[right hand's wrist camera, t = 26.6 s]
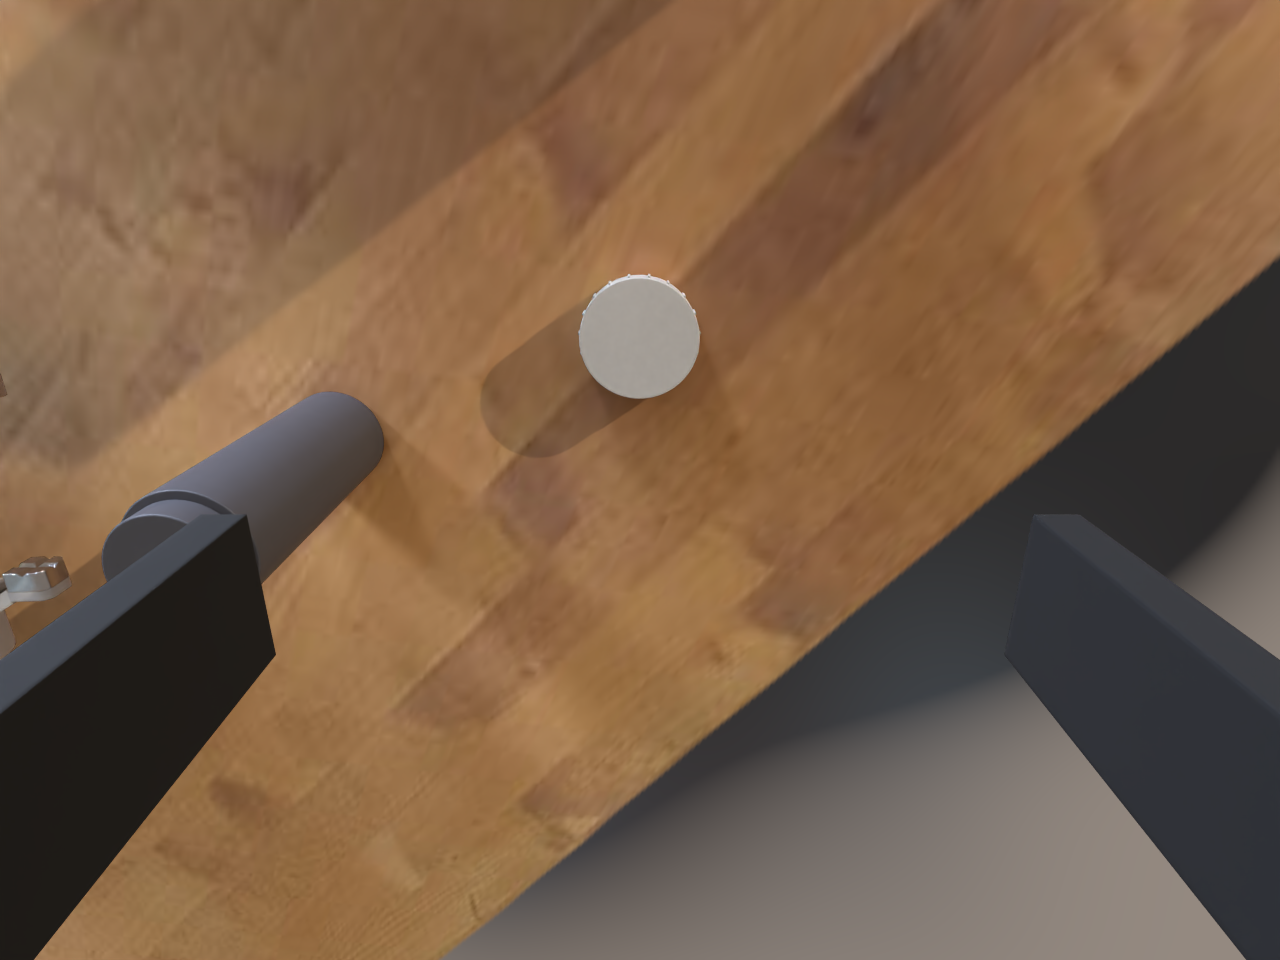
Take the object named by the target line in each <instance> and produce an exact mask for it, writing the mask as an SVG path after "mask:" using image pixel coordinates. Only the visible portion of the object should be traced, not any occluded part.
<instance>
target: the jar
mask: <svg viewBox="0 0 1280 960" xmlns="http://www.w3.org/2000/svg"><path fill="white" fill-rule="evenodd" d="M383 447H384V439H383V433H382V430H381V427H380V424H379V422H378V420H377V419H376V417H375V415H374V414H373V413H372V412H371V410H370V409H369V408H368V407H367V406H365V405H364V404H363V403H362V402H360V401H359V400H357V399H355V398H353V397H351V396H349V395H346V394H343V393H338V392H321V393H317V394H314V395H311V396H309V397H307V398H306V399H304V400H302V401H301V402H299V403H297V404H296V405H294V406H292V407H291V408H289V409H287V410H286V411H284V412H282V413H281V414H279V415H278V416H276V417H274V418H273V419H271V420H269V421H268V422H266V423H264V424H263V425H261V426H259V427H258V428H256V429H254V430H253V431H251V432H249V433H248V434H246V435H245V436H243V437H241V438H240V439H238V440H236V441H235V442H233V443H231V444H230V445H228V446H226V447H225V448H223V449H221V450H220V451H218V452H216V453H215V454H213V455H211V456H210V457H208V458H207V459H205V460H203V461H202V462H200V463H198V464H197V465H195V466H193V467H192V468H190V469H188V470H187V471H185V472H183V473H182V474H180V475H178V476H177V477H175V478H174V479H172V480H170V481H169V482H167V483H165V484H164V485H162V486H160V487H159V488H157V489H155V490H154V491H152V492H150V493H149V494H147V495H145V496H144V497H142V498H141V499H139V500H138V501H136V502H135V503H134V504H133V505H132V506H131V507H130V508H129V509H128V511H127V512H126V514H125V515H124V517H123V519H122V522H121V523H119V524H118V525H117V526H116V527H115V528H114V529H113V530H112V531H111V532H110V534H109V535H108V537H107V539H106V541H105V543H104V546H103V550H102V567H103V572H104V575H105V578H106V580H107V582H108V581H110V580H111V579H113V578H114V577H115V576H117V575H118V574H119V573H121V572H122V571H124V570H125V569H126V568H128V567H129V566H130V565H132V564H133V563H135V562H136V561H137V560H139V559H140V558H142V557H143V556H144V555H146V554H147V553H148V552H150V551H151V550H153V549H154V548H155V547H157V546H158V545H159V544H161V543H162V542H164V541H165V540H166V539H168V538H169V537H170V536H172V535H173V534H175V533H176V532H177V531H179V530H180V529H182V528H183V527H184V526H186V525H187V524H188V523H190V522H191V521H193V520H194V519H195V518H197V517H198V516H199V515H201V514H247V518H248V523H249V527H250V532H251V537H252V542H253V547H254V552H255V556H256V561H257V566H258V571H259V576H260V581H261V584H262V583H263V582H264V581H265V580H266V579H267V578H268V577H269V576H270V575H271V574H272V573H273V572H274V571H275V570H276V569H277V568H278V567H279V566H280V565H281V564H282V562H283V561H284V560H285V559H286V558H287V557H288V556H289V555H290V554H291V553H292V552H293V551H294V550H295V549H296V548H297V547H298V546H299V545H300V544H301V543H302V542H303V541H304V540H305V539H306V538H307V537H308V536H309V535H310V534H311V533H312V532H313V531H314V530H315V529H316V528H317V527H318V526H319V525H320V524H321V522H322V521H323V520H324V519H325V518H326V517H327V516H328V515H329V514H330V513H331V512H332V511H333V510H334V509H335V508H336V507H337V506H338V505H339V504H340V503H341V502H342V501H343V500H344V499H345V498H346V497H347V496H348V495H349V494H350V493H351V492H352V491H353V490H354V489H355V488H356V487H357V486H358V485H359V484H360V483H361V481H362V480H363V479H364V478H365V477H366V476H367V475H368V474H369V473H370V472H371V471H372V470H373V469H374V468H375V467H376V466H377V464H378V462H379V461H380V458H381V456H382V453H383Z"/></svg>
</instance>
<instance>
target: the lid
mask: <svg viewBox="0 0 1280 960" xmlns="http://www.w3.org/2000/svg"><path fill="white" fill-rule="evenodd" d="M685 297H686V296H685V294H684V293H681V292H680V291H679V290H678V289H677V288H675V287H674V286H673V285H672V284H670V282H669V281H668V280H667V281H665V280H662V279H660V278H657V277H653V276H650V274H648V275H631V276H630V274H628V276H625V277H622V278H619V279H617V280H614V281H609V283H608V284H607V285H606V286H605V287H603V288H602V289H601V290H600V291H599V292H598V293H597V294H596V293H595V294H594V295H593V299H592V300H591V302H590V303H589V305H588V307H587V309H586V310H584V312H583V314H582V315H583V319H582V321H581V326H580V330H579V332H578V335H579V346H580V351H581V352H580V354H581V355H582V358H583V361H584V363H585V365H586V367H587V369H588V371H589V373H590V374H591V375H592V376H593V377H594V379H595V380H596V381H597V382H598V383H599V384H601V385H602V386H603V387H605V388H606V389H607V390H609V391H611V392H613V393H615V394H617V395H620V396H623V397H628V398H635V399H645V398H652V397H655V396H659V395H661V394H664V393H666V392H668V391H670V390H671V389H673V388H674V387H676V386H677V385H678V384H679V383H680V382H681V381H682V380H683V379H684V378H685V377H686V376H687V375H688V373H689V372H690V371H691V369H692V367H693V365H694V363H695V360H696V358H697V354H698V353H699V352H698V350H699V343H700V334H701V332H700V330H699V326H698V323H697V319H696V316H695V315H696V312H695V310H694V309H692V307H691V306H690V304H689V302H688V300H687V299H686V298H685Z"/></svg>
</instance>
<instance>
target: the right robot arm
mask: <svg viewBox="0 0 1280 960" xmlns="http://www.w3.org/2000/svg"><path fill="white" fill-rule="evenodd" d="M275 655H276V653H275V648H274V643H273V639H272V634H271V629H270V624H269V619H268V614H267V610H266V605H265V600H264V595H263V590H262V585H261V581H260V576H259V571H258V566H257V561H256V556H255V552H254V547H253V542H252V537H251V532H250V527H249V523H248V518H247V514H201V515H199V516H198V517H197V518H195V519H194V520H193V521H191V522H190V523H188V524H187V525H186V526H184V527H183V528H182V529H180V530H179V531H177V532H176V533H175V534H173V535H172V536H170V537H169V538H168V539H166V540H165V541H164V542H162V543H161V544H159V545H158V546H157V547H155V548H154V549H153V550H151V551H150V552H148V553H147V554H146V555H144V556H143V557H142V558H140V559H139V560H137V561H136V562H135V563H133V564H132V565H130V566H129V567H128V568H126V569H125V570H124V571H122V572H121V573H119V574H118V575H117V576H115V577H114V578H113V579H111V580H110V581H108V582H107V583H106V584H104V585H103V586H102V587H100V588H99V589H97V590H96V591H95V592H93V593H92V594H90V595H89V596H88V597H86V598H85V599H84V600H82V601H81V602H79V603H78V604H77V605H75V606H74V607H73V608H71V609H70V610H68V611H67V612H66V613H64V614H63V615H62V616H60V617H59V618H57V619H56V620H55V621H53V622H52V623H51V624H49V625H48V626H46V627H45V628H44V629H42V630H41V631H39V632H38V633H37V634H35V635H34V636H33V637H31V638H30V639H28V640H27V641H26V642H24V643H23V644H22V645H20V646H19V647H17V648H16V649H15V650H13V651H12V652H11V653H9V654H8V655H6V656H5V657H4V658H2V659H1V660H0V960H34V959H35V958H36V956H37V955H38V954H39V952H40V951H41V950H42V949H43V947H44V946H45V945H46V944H47V942H48V941H49V940H50V939H51V937H52V936H53V935H54V934H55V932H56V931H57V930H58V929H59V927H60V926H61V925H62V924H63V922H64V921H65V920H66V918H67V917H68V916H69V915H70V913H71V912H72V911H73V910H74V908H75V907H76V906H77V905H78V903H79V902H80V901H81V900H82V898H83V897H84V896H85V895H86V893H87V892H88V891H89V890H90V888H91V887H92V886H93V884H94V883H95V882H96V881H97V879H98V878H99V877H100V876H101V874H102V873H103V872H104V871H105V869H106V868H107V867H108V866H109V864H110V863H111V862H112V861H113V859H114V858H115V857H116V855H117V854H118V853H119V852H120V850H121V849H122V848H123V847H124V845H125V844H126V843H127V842H128V840H129V839H130V838H131V837H132V835H133V834H134V833H135V832H136V830H137V829H138V828H139V827H140V825H141V824H142V823H143V821H144V820H145V819H146V818H147V816H148V815H149V814H150V813H151V811H152V810H153V809H154V808H155V806H156V805H157V804H158V803H159V801H160V800H161V799H162V798H163V796H164V795H165V794H166V792H167V791H168V790H169V789H170V787H171V786H172V785H173V784H174V782H175V781H176V780H177V779H178V777H179V776H180V775H181V774H182V772H183V771H184V770H185V769H186V767H187V766H188V765H189V764H190V762H191V761H192V760H193V758H194V757H195V756H196V755H197V753H198V752H199V751H200V750H201V748H202V747H203V746H204V745H205V743H206V742H207V741H208V740H209V738H210V737H211V736H212V735H213V733H214V732H215V731H216V730H217V728H218V727H219V726H220V724H221V723H222V722H223V721H224V719H225V718H226V717H227V716H228V714H229V713H230V712H231V711H232V709H233V708H234V707H235V706H236V704H237V703H238V702H239V701H240V699H241V698H242V697H243V695H244V694H245V693H246V692H247V690H248V689H249V688H250V687H251V685H252V684H253V683H254V682H255V680H256V679H257V678H258V677H259V675H260V674H261V673H262V672H263V670H264V669H265V668H266V667H267V665H268V664H269V663H270V661H271V660H272V659H273V658H274V656H275ZM1004 655H1005V656H1006V658H1007V659H1008V660H1009V661H1010V663H1011V664H1012V665H1013V667H1014V668H1015V669H1016V670H1017V672H1018V673H1019V674H1020V675H1021V677H1022V678H1023V679H1024V680H1025V682H1026V683H1027V684H1028V685H1029V687H1030V688H1031V689H1032V690H1033V692H1034V693H1035V694H1036V695H1037V697H1038V698H1039V699H1040V701H1041V702H1042V703H1043V704H1044V706H1045V707H1046V708H1047V709H1048V711H1049V712H1050V713H1051V714H1052V716H1053V717H1054V718H1055V719H1056V721H1057V722H1058V723H1059V724H1060V726H1061V727H1062V728H1063V729H1064V731H1065V732H1066V733H1067V735H1068V736H1069V737H1070V738H1071V740H1072V741H1073V742H1074V743H1075V745H1076V746H1077V747H1078V748H1079V750H1080V751H1081V752H1082V753H1083V755H1084V756H1085V757H1086V758H1087V760H1088V761H1089V762H1090V763H1091V765H1092V766H1093V767H1094V769H1095V770H1096V771H1097V772H1098V774H1099V775H1100V776H1101V777H1102V779H1103V780H1104V781H1105V782H1106V784H1107V785H1108V786H1109V787H1110V789H1111V790H1112V791H1113V792H1114V794H1115V795H1116V796H1117V798H1118V799H1119V800H1120V801H1121V803H1122V804H1123V805H1124V806H1125V808H1126V809H1127V810H1128V811H1129V813H1130V814H1131V815H1132V816H1133V818H1134V819H1135V820H1136V821H1137V823H1138V824H1139V825H1140V826H1141V828H1142V829H1143V830H1144V832H1145V833H1146V834H1147V835H1148V837H1149V838H1150V839H1151V840H1152V842H1153V843H1154V844H1155V845H1156V847H1157V848H1158V849H1159V850H1160V852H1161V853H1162V854H1163V855H1164V857H1165V858H1166V859H1167V861H1168V862H1169V863H1170V864H1171V866H1172V867H1173V868H1174V869H1175V871H1176V872H1177V873H1178V874H1179V876H1180V877H1181V878H1182V879H1183V881H1184V882H1185V883H1186V884H1187V886H1188V887H1189V888H1190V889H1191V891H1192V892H1193V893H1194V895H1195V896H1196V897H1197V898H1198V900H1199V901H1200V902H1201V903H1202V905H1203V906H1204V907H1205V908H1206V910H1207V911H1208V912H1209V913H1210V915H1211V916H1212V917H1213V918H1214V920H1215V921H1216V922H1217V924H1218V925H1219V926H1220V927H1221V929H1222V930H1223V931H1224V932H1225V934H1226V935H1227V936H1228V937H1229V939H1230V940H1231V941H1232V942H1233V944H1234V945H1235V946H1236V947H1237V949H1238V950H1239V951H1240V952H1241V954H1242V955H1243V956H1244V958H1245V959H1246V960H1280V660H1279V659H1278V658H1276V657H1275V656H1274V655H1272V654H1271V653H1269V652H1268V651H1267V650H1265V649H1264V648H1263V647H1261V646H1260V645H1258V644H1257V643H1256V642H1254V641H1253V640H1252V639H1250V638H1249V637H1247V636H1246V635H1245V634H1243V633H1242V632H1240V631H1239V630H1238V629H1236V628H1235V627H1234V626H1232V625H1231V624H1229V623H1228V622H1227V621H1225V620H1224V619H1223V618H1221V617H1220V616H1218V615H1217V614H1216V613H1214V612H1213V611H1212V610H1210V609H1209V608H1207V607H1206V606H1205V605H1203V604H1202V603H1201V602H1199V601H1198V600H1196V599H1195V598H1194V597H1192V596H1191V595H1189V594H1188V593H1187V592H1185V591H1184V590H1183V589H1181V588H1180V587H1178V586H1177V585H1176V584H1174V583H1173V582H1172V581H1170V580H1169V579H1167V578H1166V577H1165V576H1163V575H1162V574H1160V573H1159V572H1158V571H1156V570H1155V569H1154V568H1152V567H1151V566H1149V565H1148V564H1147V563H1145V562H1144V561H1143V560H1141V559H1140V558H1138V557H1137V556H1136V555H1134V554H1133V553H1132V552H1130V551H1129V550H1127V549H1126V548H1125V547H1123V546H1122V545H1121V544H1119V543H1118V542H1116V541H1115V540H1114V539H1112V538H1111V537H1110V536H1108V535H1107V534H1105V533H1104V532H1102V531H1101V530H1100V529H1098V528H1097V527H1096V526H1094V525H1093V524H1092V523H1090V522H1089V521H1087V520H1086V519H1085V518H1083V517H1082V516H1081V515H1079V514H1034V515H1033V518H1032V523H1031V528H1030V532H1029V537H1028V542H1027V547H1026V552H1025V557H1024V561H1023V566H1022V571H1021V576H1020V581H1019V585H1018V590H1017V595H1016V600H1015V605H1014V610H1013V615H1012V619H1011V624H1010V629H1009V634H1008V639H1007V643H1006V648H1005V653H1004Z"/></svg>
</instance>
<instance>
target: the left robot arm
mask: <svg viewBox="0 0 1280 960" xmlns="http://www.w3.org/2000/svg"><path fill="white" fill-rule="evenodd" d="M6 395H7V392H6V389H5V386H4V383H3V380H2V377H1V374H0V397H4V396H6ZM2 576H3V578H0V660H1V659H2V658H4V657H5V656H6V655H8V654H9V653H10V652H11V650H12V649H13V648H14V647H15V644H16V640H15V636H14V633H13V631H12V628H11V625H10V623H9V620H8V618H7V615H6V612H5V610H4V609H6V608H8V607H9V606H11V605H12V604H14V603H15V602H25V601H45V600H48V599H52V598H54V597H56V596H58V595H59V594H61V593H62V592H63V591H65V590H66V589H68V588H69V587H71V586H72V582H71V579H70V577H69V573H68V571H67V568H66V566H65V563H64V560H63V558H62V557H60V556H54V557H52V558H51V559H49V558H47V557H30V558H29V559H27V560H25V561H24V562H22V563H21V564H20V566H19V567H18V568H12V569H10V570H9V571H7V572H5V573H4V574H2Z"/></svg>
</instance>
